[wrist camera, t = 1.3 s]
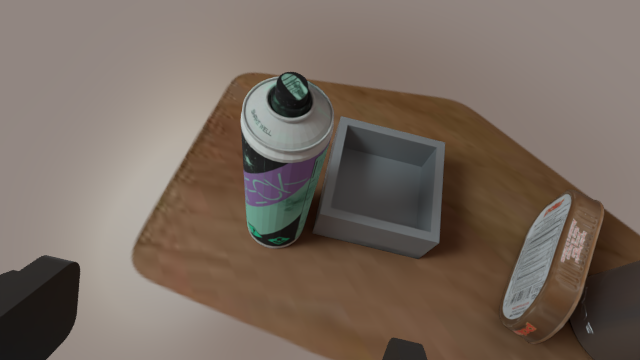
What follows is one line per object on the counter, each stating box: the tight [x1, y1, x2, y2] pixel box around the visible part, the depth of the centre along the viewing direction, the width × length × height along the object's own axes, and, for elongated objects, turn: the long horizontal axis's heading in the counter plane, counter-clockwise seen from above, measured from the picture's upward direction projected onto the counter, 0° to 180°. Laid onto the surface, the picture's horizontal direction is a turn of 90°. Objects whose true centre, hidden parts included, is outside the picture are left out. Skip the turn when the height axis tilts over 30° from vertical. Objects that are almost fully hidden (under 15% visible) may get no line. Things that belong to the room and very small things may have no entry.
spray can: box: [241, 72, 334, 248], centre depth 29 cm, size 6×6×20 cm
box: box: [313, 116, 445, 259], centre depth 39 cm, size 11×11×5 cm
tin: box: [499, 190, 604, 344], centre depth 36 cm, size 15×3×8 cm, turn 148°
